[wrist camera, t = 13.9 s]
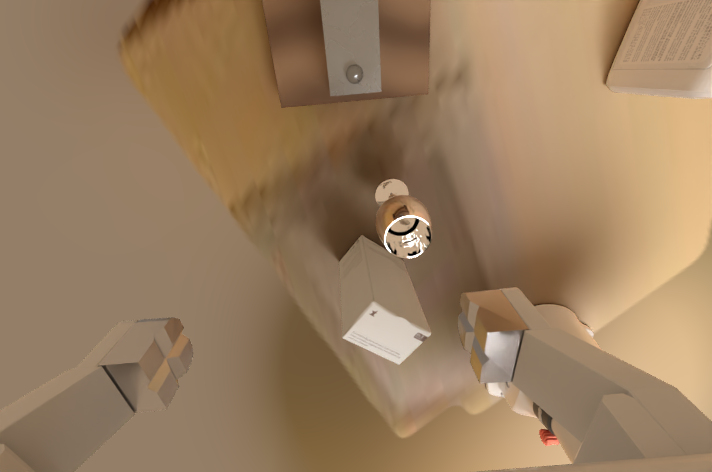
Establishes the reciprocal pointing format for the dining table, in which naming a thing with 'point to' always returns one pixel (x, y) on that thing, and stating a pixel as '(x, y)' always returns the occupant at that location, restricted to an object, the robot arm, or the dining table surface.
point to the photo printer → (666, 51)
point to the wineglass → (401, 220)
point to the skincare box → (380, 302)
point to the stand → (308, 56)
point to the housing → (352, 46)
